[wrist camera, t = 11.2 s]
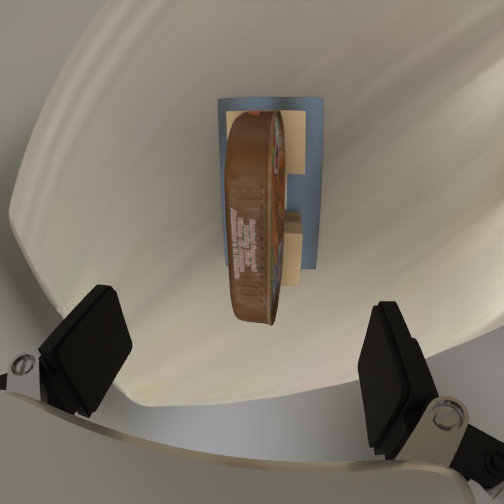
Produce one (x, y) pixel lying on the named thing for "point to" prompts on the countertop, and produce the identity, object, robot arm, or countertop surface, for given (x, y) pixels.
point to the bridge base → (297, 182)
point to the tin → (255, 213)
